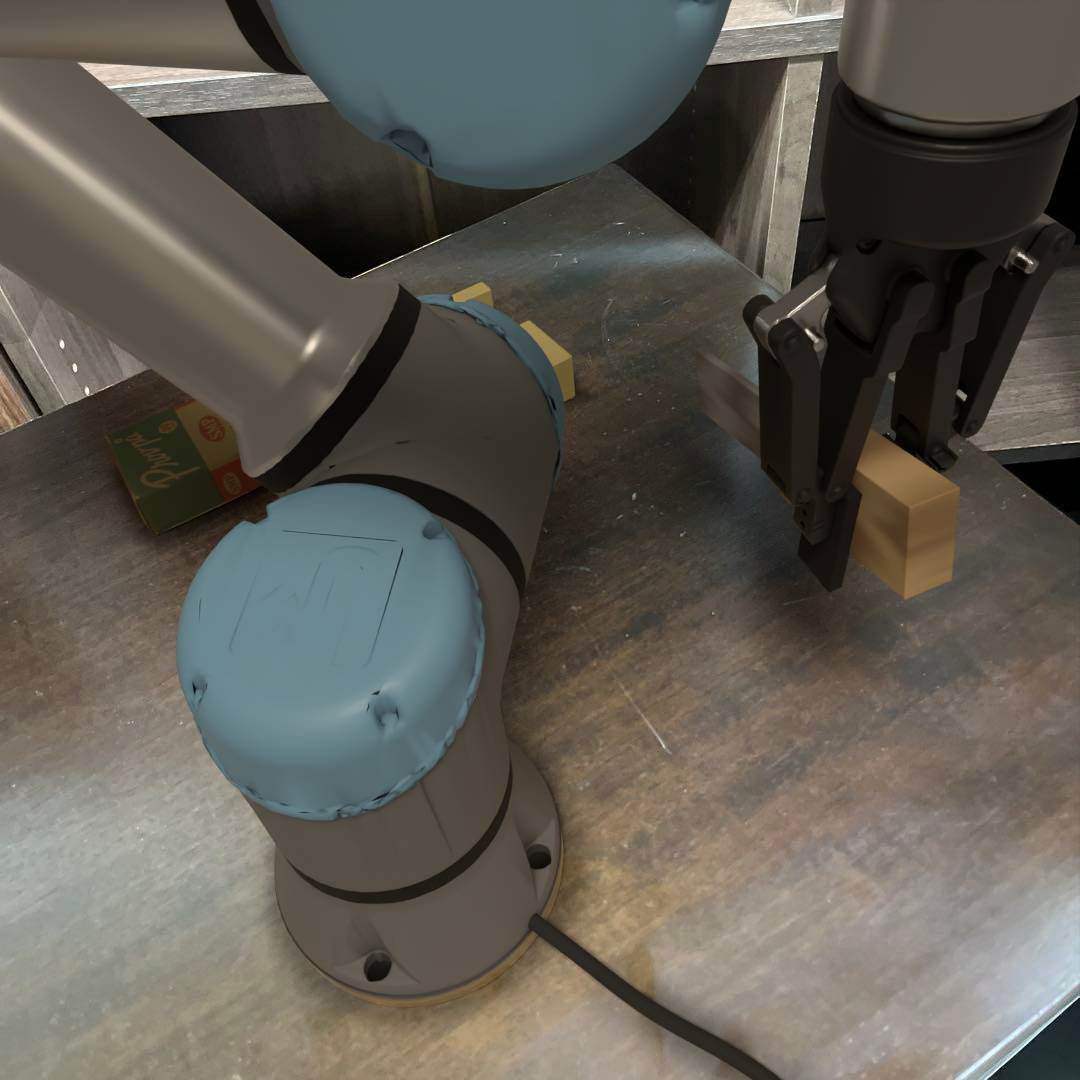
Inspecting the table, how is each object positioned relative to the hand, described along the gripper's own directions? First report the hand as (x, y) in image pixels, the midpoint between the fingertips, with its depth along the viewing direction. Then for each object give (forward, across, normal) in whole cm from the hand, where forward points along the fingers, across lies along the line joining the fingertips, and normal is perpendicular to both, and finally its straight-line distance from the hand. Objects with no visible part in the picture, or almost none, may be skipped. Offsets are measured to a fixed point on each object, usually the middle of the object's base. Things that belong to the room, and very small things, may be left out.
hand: (847, 558), depth 49 cm
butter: (+13, +5, -34) cm, 36 cm away
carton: (+13, +27, -37) cm, 48 cm away
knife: (-1, 0, -4) cm, 5 cm away
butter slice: (+13, +6, -43) cm, 45 cm away
